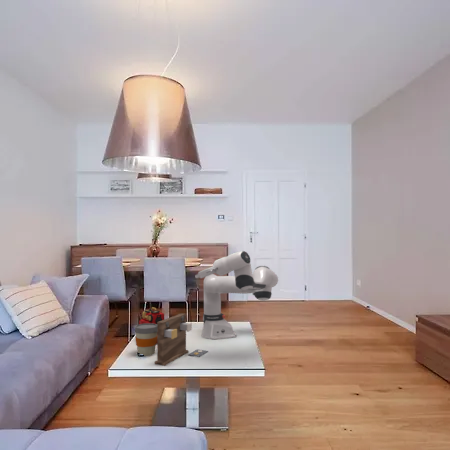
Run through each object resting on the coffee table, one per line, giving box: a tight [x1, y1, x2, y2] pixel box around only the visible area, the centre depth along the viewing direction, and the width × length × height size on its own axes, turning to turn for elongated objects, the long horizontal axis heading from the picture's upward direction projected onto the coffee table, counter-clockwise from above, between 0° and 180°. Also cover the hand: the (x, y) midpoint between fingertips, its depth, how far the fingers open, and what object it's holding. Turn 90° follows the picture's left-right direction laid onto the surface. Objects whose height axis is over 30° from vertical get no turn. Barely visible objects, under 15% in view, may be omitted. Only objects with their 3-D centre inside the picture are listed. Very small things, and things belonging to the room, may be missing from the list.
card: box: [187, 348, 209, 358], centre depth 198 cm, size 7×10×1 cm
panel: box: [154, 312, 189, 367], centre depth 191 cm, size 6×23×21 cm, turn 156°
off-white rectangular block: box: [180, 322, 193, 333], centre depth 197 cm, size 7×4×4 cm, turn 66°
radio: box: [138, 306, 165, 325], centre depth 221 cm, size 16×10×20 cm, turn 41°
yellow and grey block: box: [164, 329, 177, 339], centre depth 184 cm, size 7×4×4 cm, turn 66°
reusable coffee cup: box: [134, 323, 157, 357], centre depth 199 cm, size 13×12×15 cm
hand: (199, 275), depth 199 cm, fingers open, 8 cm apart
